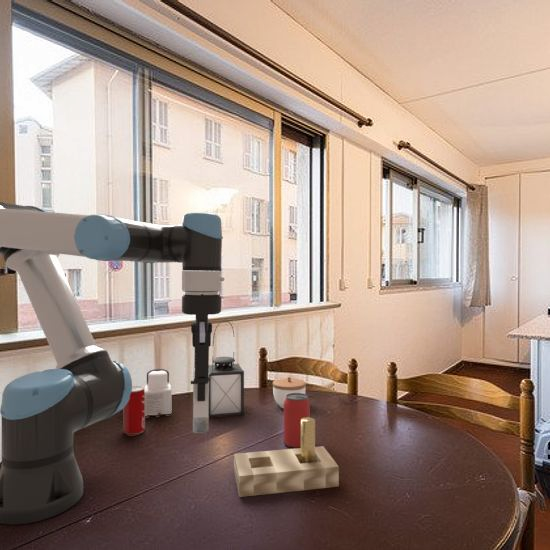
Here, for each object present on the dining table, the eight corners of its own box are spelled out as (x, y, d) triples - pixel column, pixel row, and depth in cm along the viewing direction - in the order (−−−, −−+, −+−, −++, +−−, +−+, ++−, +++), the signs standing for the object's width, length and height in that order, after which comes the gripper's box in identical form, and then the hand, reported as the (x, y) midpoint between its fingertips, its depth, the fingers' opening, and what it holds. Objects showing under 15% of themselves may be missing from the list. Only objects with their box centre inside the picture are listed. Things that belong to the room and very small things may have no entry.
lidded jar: (311, 404, 135) (311, 375, 135) (295, 414, 126) (295, 383, 126) (283, 399, 141) (283, 371, 141) (266, 407, 132) (266, 378, 132)
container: (144, 409, 130) (144, 368, 130) (170, 407, 132) (170, 366, 132) (144, 418, 122) (144, 374, 122) (171, 415, 125) (171, 372, 125)
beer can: (308, 450, 100) (308, 400, 100) (281, 447, 101) (281, 399, 101) (311, 439, 106) (311, 393, 106) (286, 437, 108) (286, 391, 108)
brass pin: (302, 481, 85) (302, 422, 85) (299, 474, 88) (299, 417, 88) (316, 479, 86) (316, 421, 86) (312, 472, 89) (312, 416, 89)
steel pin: (192, 433, 79) (193, 370, 79) (192, 427, 82) (193, 367, 82) (208, 432, 79) (209, 370, 79) (208, 426, 82) (208, 366, 82)
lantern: (238, 403, 136) (238, 318, 136) (244, 415, 125) (244, 322, 125) (204, 406, 133) (204, 319, 133) (207, 418, 122) (206, 323, 122)
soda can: (145, 434, 110) (145, 389, 110) (123, 437, 108) (123, 391, 108) (144, 427, 115) (144, 383, 115) (123, 429, 113) (123, 385, 113)
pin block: (239, 497, 79) (239, 476, 79) (233, 472, 89) (234, 453, 89) (338, 486, 83) (338, 466, 83) (323, 464, 93) (323, 446, 93)
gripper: (224, 295, 73) (222, 427, 74) (218, 291, 89) (217, 400, 89) (181, 295, 72) (179, 430, 72) (182, 291, 87) (181, 402, 87)
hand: (200, 413), depth 81 cm, fingers closed on steel pin, 2 cm apart
